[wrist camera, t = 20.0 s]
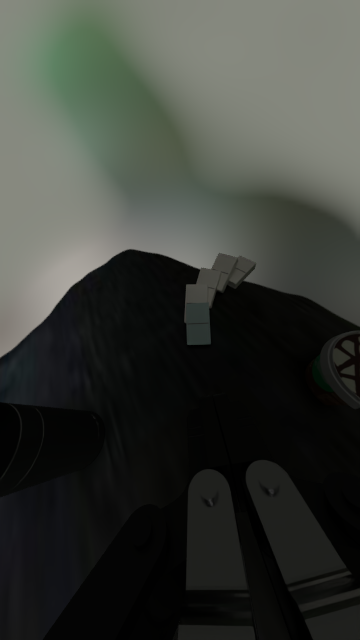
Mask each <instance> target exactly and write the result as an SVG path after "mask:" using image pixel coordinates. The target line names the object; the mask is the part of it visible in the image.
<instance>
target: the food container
mask: <svg viewBox="0 0 360 640" xmlns="http://www.w3.org/2000/svg"><path fill="white" fill-rule="evenodd" d="M305 378H306V382H307V385H308V387H309V389H310V390H311V392H312V393H313V394H314V396H315V397H316V398H317V399H318V400H319V401H321V402H322V403H323V404H325V405H349V406H351V407H352V408H354V409H357V408H360V331H352V332H347V333H344V334H341V335H338V336H335V337H333V338H331V339H330V340H329V341H328V342H326V344H325V345H324V346H323V348H322V351H321V354H320V355H318V356H317V357H316V358H315V359H314V360H313V361H311V362H310V363H309V364H308V366H307V368H306V371H305Z"/></svg>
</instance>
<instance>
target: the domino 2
mask: <svg viewBox="0 0 360 640" xmlns="http://www.w3.org/2000/svg"><path fill="white" fill-rule="evenodd" d="M207 302H208V284H202V285H186V300H185V318H184V322H185V323H186V304H191V303H207Z"/></svg>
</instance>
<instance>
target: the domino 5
mask: <svg viewBox="0 0 360 640" xmlns="http://www.w3.org/2000/svg"><path fill="white" fill-rule="evenodd" d="M255 265H256V263H255V262H253V261H251V260H248V259H246V258H244V257H241V256H239V257H238V263H237V265H236V267H235V269H234V272H233V274H232V276H231V278H230V280H229V282H228V284H227V285H229V286H231V287H233V288H234V289H236V288H237V287H238V285H239V284H240V283H241V282H242V281H243V280H244V279H245V278H246V277H247V276H248V275H249V274H250V273H251V272H252V271H253V270H254V269H255Z"/></svg>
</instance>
